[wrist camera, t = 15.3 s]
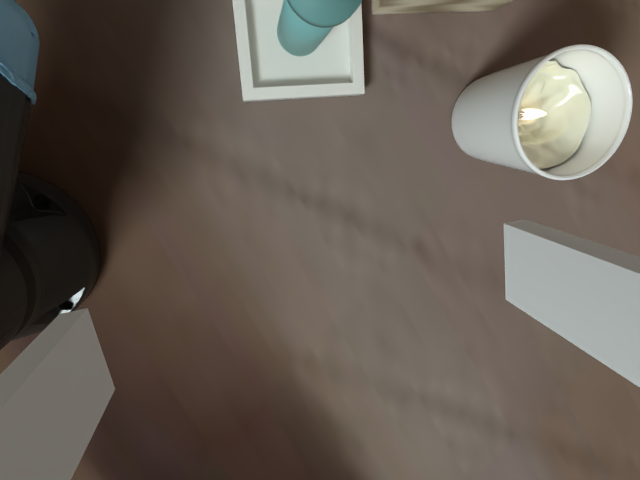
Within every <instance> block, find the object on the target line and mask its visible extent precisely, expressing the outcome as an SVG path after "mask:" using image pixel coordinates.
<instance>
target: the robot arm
mask: <svg viewBox="0 0 640 480" xmlns="http://www.w3.org/2000/svg"><path fill="white" fill-rule="evenodd" d="M38 52H39V36H38V32H37V29H36V27H35V25H34V23H33V21H32V20H31V18H30V17H29V15H28V14H27V13H26V12H25V11H24V10H23V8H22V7H21V6H20V5H19V4H17V3H16V2H15V1H14V0H0V350H1V349H2V348H3V347H4V346H5V345H6V344H8V343H9V342H10V341H12V340H15V339H19V338H22V337H25V336H28V335H32V334H35V333H38V332H41V331H42V332H41V333H40V334H39V336H38V337H37V338H36V339H35V340H34V341H33V342H32V343H31V344H30V345H29V346H28V347H27V348H26V349H25V350H24V351H23V352H22V353H21V354H20V355H19V356H18V357H17V358H16V359H15V360H14V361H13V362H12V363H11V364H10V365H9V366H8V367H7V368H6V369H5V370H4V371H3V372H2V373H1V374H0V480H71V478H72V476H73V474H74V472H75V470H76V468H77V466H78V464H79V462H80V460H81V458H82V456H83V454H84V452H85V450H86V448H87V445H88V443H89V441H90V439H91V437H92V435H93V433H94V431H95V429H96V427H97V425H98V423H99V421H100V419H101V417H102V415H103V413H104V411H105V408H106V406H107V404H108V402H109V400H110V398H111V396H112V394H113V392H114V390H115V388H114V385H113V382H112V379H111V376H110V373H109V370H108V367H107V364H106V361H105V358H104V355H103V353H102V350H101V347H100V344H99V341H98V338H97V335H96V332H95V329H94V326H93V323H92V320H91V317H90V314H89V311H88V309H82V310H77V311H74V310H75V309H76V308H77V307H78V306H79V305H80V304H81V303H82V302H83V301H84V300H85V299H86V298H87V296H88V295H89V293H90V292H91V290H92V288H93V286H94V284H95V282H96V279H97V276H98V272H99V266H100V250H99V244H98V240H97V237H96V234H95V231H94V229H93V226H92V224H91V223H90V221H89V219H88V218H87V216H86V215H85V213H84V212H83V210H82V209H81V208H80V207H79V206H78V205H77V203H76V202H75V201H74V200H73V199H71V198H70V197H69V196H68V195H67V194H66V193H64V192H63V191H62V190H60V189H59V188H57V187H56V186H54V185H52V184H50V183H49V182H47V181H45V180H42V179H40V178H38V177H35V176H32V175H29V174H25V173H21V172H18V169H19V164H20V159H21V155H22V150H23V145H24V140H25V135H26V130H27V125H28V120H29V115H30V110H31V105H35V103H36V99H37V98H36V93H35V92H34V90H33V89H34V82H35V74H36V67H37V60H38ZM504 251H505V290H506V300H507V301H509V302H510V303H512V304H513V305H515V306H516V307H518V308H520V309H521V310H523V311H524V312H526V313H527V314H529V315H530V316H532V317H533V318H535V319H536V320H538V321H539V322H541V323H542V324H544V325H545V326H547V327H548V328H550V329H552V330H553V331H555V332H556V333H558V334H559V335H561V336H562V337H564V338H565V339H567V340H568V341H570V342H571V343H573V344H574V345H576V346H577V347H579V348H580V349H582V350H584V351H585V352H587V353H588V354H590V355H591V356H593V357H594V358H596V359H597V360H599V361H600V362H602V363H603V364H605V365H606V366H608V367H609V368H611V369H612V370H614V371H616V372H617V373H619V374H620V375H622V376H623V377H625V378H626V379H628V380H629V381H631V382H632V383H634V384H635V385H637V386H638V387H640V257H639V256H636V255H633V254H630V253H627V252H624V251H621V250H618V249H614V248H611V247H608V246H605V245H602V244H599V243H596V242H593V241H590V240H587V239H584V238H581V237H578V236H575V235H572V234H569V233H566V232H563V231H559V230H556V229H553V228H550V227H547V226H544V225H541V224H538V223H535V222H532V221H529V220H526V219H524V220H519V221H514V222H509V223H504Z"/></svg>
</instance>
